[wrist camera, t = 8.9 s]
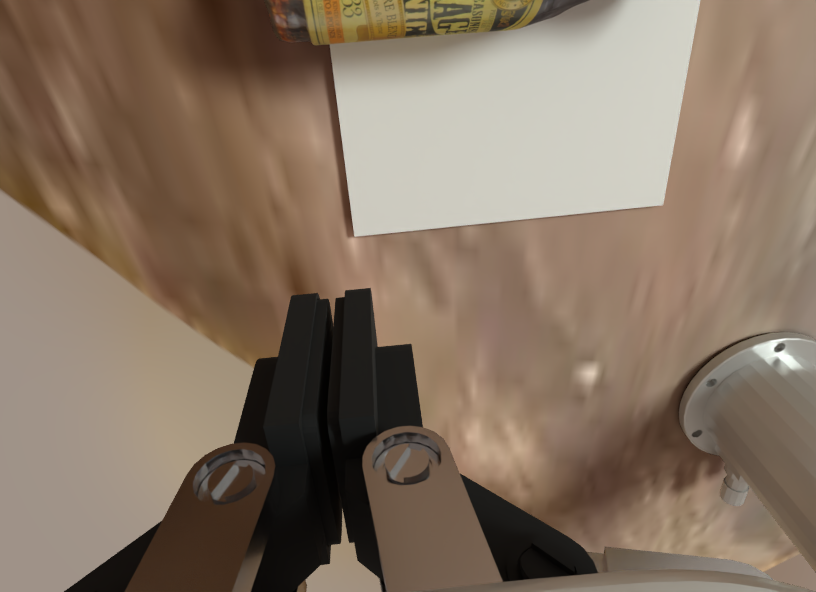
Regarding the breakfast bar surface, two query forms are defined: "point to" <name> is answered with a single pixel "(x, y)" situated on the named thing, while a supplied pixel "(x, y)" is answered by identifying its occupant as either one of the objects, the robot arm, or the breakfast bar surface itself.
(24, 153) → the breakfast bar surface
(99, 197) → the breakfast bar surface
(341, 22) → the sauce bottle
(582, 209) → the mat
